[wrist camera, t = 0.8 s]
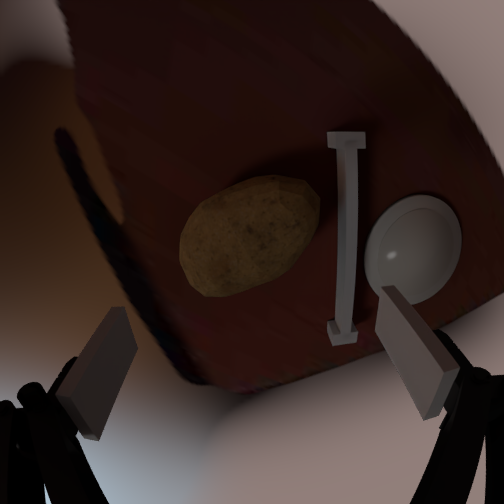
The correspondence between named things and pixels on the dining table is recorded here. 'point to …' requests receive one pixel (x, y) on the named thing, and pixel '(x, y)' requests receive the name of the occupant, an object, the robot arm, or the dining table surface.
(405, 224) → the plate
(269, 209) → the potato
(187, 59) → the dining table surface
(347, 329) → the rail
